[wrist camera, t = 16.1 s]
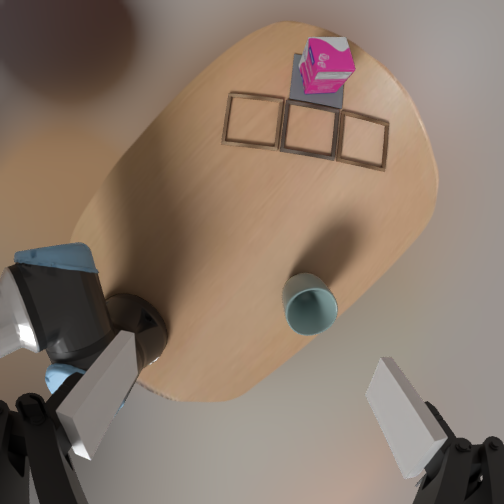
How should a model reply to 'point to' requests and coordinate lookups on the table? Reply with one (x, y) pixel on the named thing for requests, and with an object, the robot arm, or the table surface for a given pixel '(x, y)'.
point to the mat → (322, 99)
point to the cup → (308, 304)
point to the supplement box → (325, 64)
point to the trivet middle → (314, 108)
